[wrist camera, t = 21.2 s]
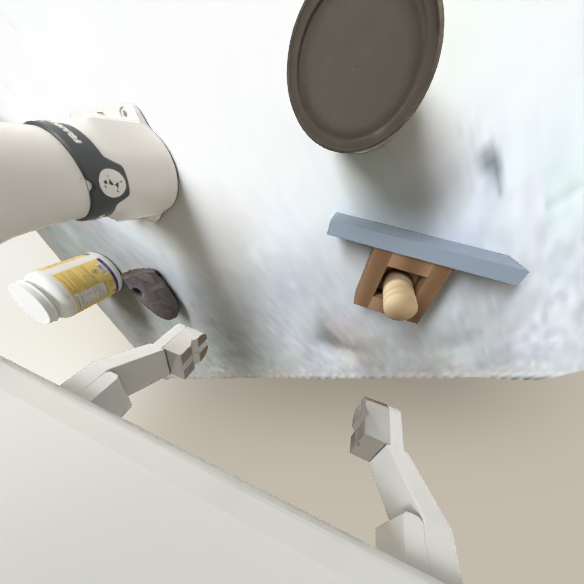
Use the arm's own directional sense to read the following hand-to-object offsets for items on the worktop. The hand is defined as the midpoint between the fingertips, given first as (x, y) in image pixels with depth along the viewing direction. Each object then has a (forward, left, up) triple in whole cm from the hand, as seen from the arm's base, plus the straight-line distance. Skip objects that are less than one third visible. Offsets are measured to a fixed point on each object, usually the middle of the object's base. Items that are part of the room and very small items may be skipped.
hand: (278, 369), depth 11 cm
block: (+10, -6, -29) cm, 31 cm away
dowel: (+10, -6, -28) cm, 30 cm away
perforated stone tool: (-39, -27, -29) cm, 56 cm away
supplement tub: (-59, -29, -29) cm, 72 cm away
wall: (+10, 0, -29) cm, 31 cm away
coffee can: (-2, +14, -29) cm, 33 cm away
